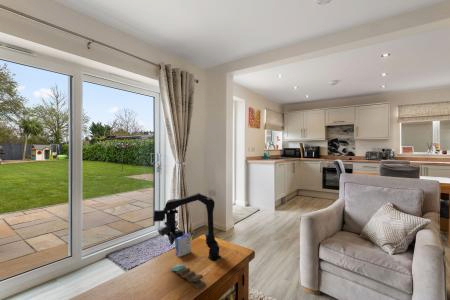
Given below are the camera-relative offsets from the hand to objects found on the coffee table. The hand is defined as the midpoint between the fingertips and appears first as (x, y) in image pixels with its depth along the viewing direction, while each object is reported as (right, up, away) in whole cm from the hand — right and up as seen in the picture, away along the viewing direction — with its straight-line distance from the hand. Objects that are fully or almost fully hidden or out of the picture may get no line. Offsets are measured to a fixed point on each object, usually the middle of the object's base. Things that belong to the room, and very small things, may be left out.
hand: (171, 244), depth 138 cm
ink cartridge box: (+5, -12, +12) cm, 18 cm away
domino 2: (+7, -11, -10) cm, 17 cm away
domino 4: (+15, -11, -18) cm, 26 cm away
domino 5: (+16, -12, -19) cm, 28 cm away
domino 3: (+11, -11, -14) cm, 21 cm away
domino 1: (+4, -11, -7) cm, 14 cm away
